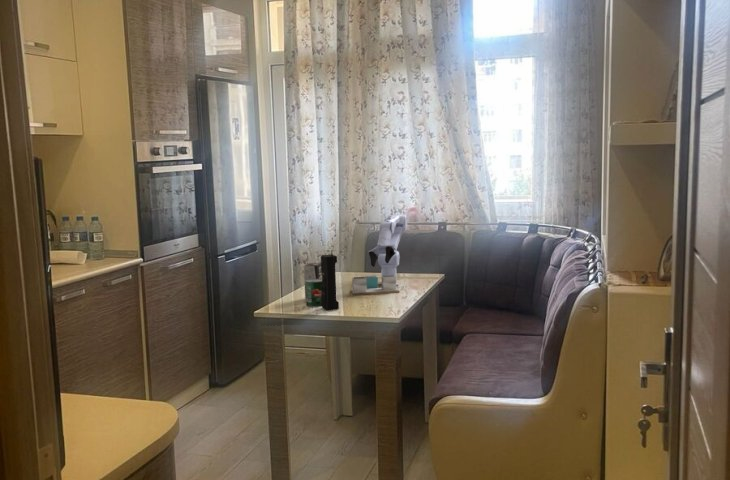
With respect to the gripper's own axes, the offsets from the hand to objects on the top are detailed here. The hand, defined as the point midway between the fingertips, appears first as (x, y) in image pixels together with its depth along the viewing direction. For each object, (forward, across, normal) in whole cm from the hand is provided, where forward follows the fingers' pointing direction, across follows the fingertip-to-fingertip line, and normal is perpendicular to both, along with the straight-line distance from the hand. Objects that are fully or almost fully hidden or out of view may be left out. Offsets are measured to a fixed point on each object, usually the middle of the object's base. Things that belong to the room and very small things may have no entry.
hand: (379, 263), depth 322 cm
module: (+4, -11, +11) cm, 16 cm away
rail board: (+10, -6, +8) cm, 14 cm away
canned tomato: (+33, -16, -18) cm, 41 cm away
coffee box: (+24, -23, -12) cm, 35 cm away
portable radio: (+38, -7, -19) cm, 43 cm away
